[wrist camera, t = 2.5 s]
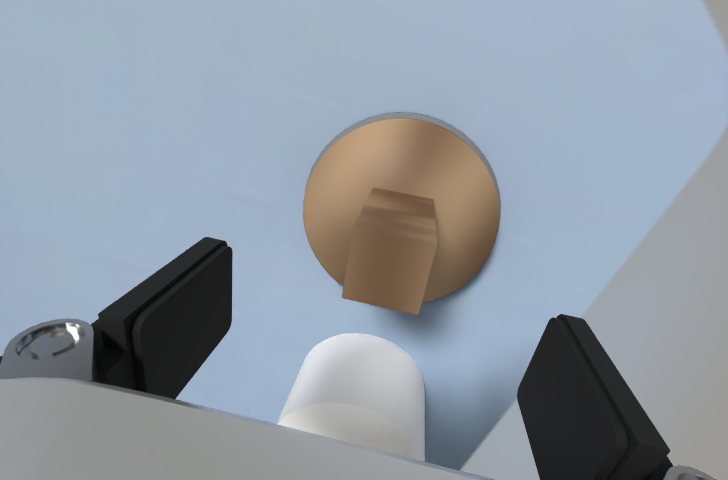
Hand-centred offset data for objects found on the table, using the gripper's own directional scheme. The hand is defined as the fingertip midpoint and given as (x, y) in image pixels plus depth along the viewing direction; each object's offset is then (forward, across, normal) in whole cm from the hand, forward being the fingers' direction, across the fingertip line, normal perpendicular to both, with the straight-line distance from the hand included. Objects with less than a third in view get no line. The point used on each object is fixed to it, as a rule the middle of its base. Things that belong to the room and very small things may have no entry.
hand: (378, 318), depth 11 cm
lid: (+11, 0, +1) cm, 11 cm away
